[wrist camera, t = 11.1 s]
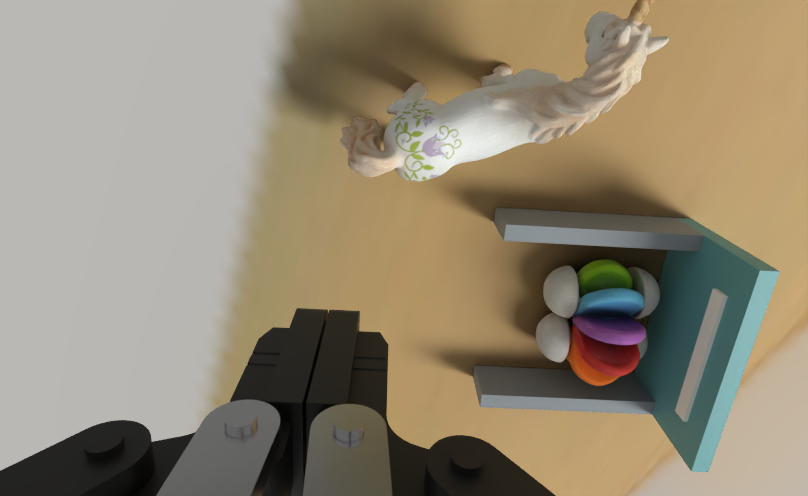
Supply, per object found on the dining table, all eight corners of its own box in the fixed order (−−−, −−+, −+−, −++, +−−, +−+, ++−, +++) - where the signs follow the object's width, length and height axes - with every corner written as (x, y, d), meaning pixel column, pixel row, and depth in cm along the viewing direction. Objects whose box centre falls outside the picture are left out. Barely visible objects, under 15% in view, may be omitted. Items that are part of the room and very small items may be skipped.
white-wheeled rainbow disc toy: (527, 351, 45) (550, 407, 38) (545, 246, 41) (574, 286, 34) (624, 356, 45) (665, 411, 38) (650, 251, 41) (700, 292, 35)
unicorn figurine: (627, 61, 36) (749, 71, 24) (391, 208, 40) (389, 283, 27) (582, -39, 34) (690, -85, 21) (336, 127, 37) (306, 170, 25)
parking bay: (495, 207, 40) (526, 257, 30) (691, 218, 40) (779, 271, 31) (473, 377, 45) (493, 463, 36) (644, 384, 46) (708, 471, 37)
